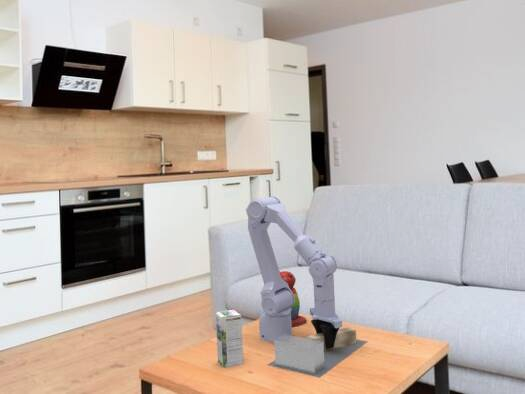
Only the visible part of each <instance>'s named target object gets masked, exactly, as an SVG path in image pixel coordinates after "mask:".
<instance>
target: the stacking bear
mask: <svg viewBox="0 0 525 394" xmlns="http://www.w3.org/2000/svg"><path fill="white" fill-rule="evenodd" d="M279 272H280V275H281V279H282V280H284V281H285V282H286V283H288V286H289V288H290V290H291V291H292V292H293V294H294V297H295V302H294V305H293V306H292V307H291V310H292V311H291V325H292V328H293V327H299V326H302V325H305V324H306V323H308V321H307V318H306V317H304V316H302V315H300V308H301V305H300V298H299V295H298V294H299V293H298V291H297V290H296V288H295V284H296V281H297V280H296V277H295V276H294V274H293V273H292V272H291V271H288V270H287V271H280V270H279ZM275 292H276V291H275Z"/></svg>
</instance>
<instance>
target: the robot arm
mask: <svg viewBox="0 0 525 394" xmlns="http://www.w3.org/2000/svg"><path fill="white" fill-rule="evenodd" d="M245 212H246V216H247V219H248V220H247V230H248V233H249V237H250V240H251V243H252V247H253V251H254V254H255V257H256V260H257V264H258V268H259V271H260V275H261V278H262V282H263V287H262V289H261V291H260V295H261V296H260V298H261V302H260V303H261V308H262V310H263V312H262V313H261V315H259V319H258V320H259V321H258V322H259V323H258V324H259V326H258V327H259V339H260V340H263V341H266V342H267V341H268V342H270V343H273V344H274V340H275V339H277V338H279V337H281V336H283V335H290V336H293V331H292V330H293V327H292V325H291V311H292V310H291V307H292V306H293V305H294V302H295V297H294V294H293V292H292V291H291V290H290V288H289V286H288V283H286V282H285V281H284V280H282V279H281V275H280V272H281V271H280V269H279V265H278V262H277V258H276V256H275V252H274V249H273V246H272V242H271V239H270V236H269V235H270V234H269V233H268V228H269V227H270V226H271V223H273V224H277V225H278V227H279V228H280V229H282V231H283V232H284V233H285V234H286V235H287V236H288V237H289V238H290V239H291V240H292V241H293V242H294V247H293V248H294V250H295V251H296V252H297V254H299V256H300V258H302V260H303V261H304V262H305V264H307V266H309V267H308V273H309V275H310V276H311V278H312V283H313V299H314V302H313V303H314V307H309V315H310V316H311V320H310V323H311V325H312V326H313V328H314V330H315V332H316V333H315V334H319V333H323V334H324V339H325V345H326V348H327V349H329V348H333V347H334V343H335V338H336V335H337V332H338V330H339V329H341V328H343V320H342V319H341V318H340V317H339V316H338V314H337V313H336V299H335V297H336V296H335V280H334V279H335V278H334V277H335V276H334V273H335V272H336V271H337V269H338V265H337V261H336V259H335V257H334V256H332V254H331V255H330V254H328V253H326V252H325V251H324V250H323V249H321V248H320V246H319V245H318V244H317V243H316V239H315V238H314V237H312V236H310V235H307V234H306V235H305V234H304V233H303V232H302V231H301V229H300V227H298V225H297V224H296V223H295V221H294V220H293V218H292V217H291V216H290V215H289V213H288V212H287V210H286V206H285V204H283V202H281V199H279V198H278V197H277V196H269V197H262V198H254V199H251V200H250V201H249V204H248V205H247V206H246V209H245ZM279 271H280V272H279ZM275 291H276V292H275Z"/></svg>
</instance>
